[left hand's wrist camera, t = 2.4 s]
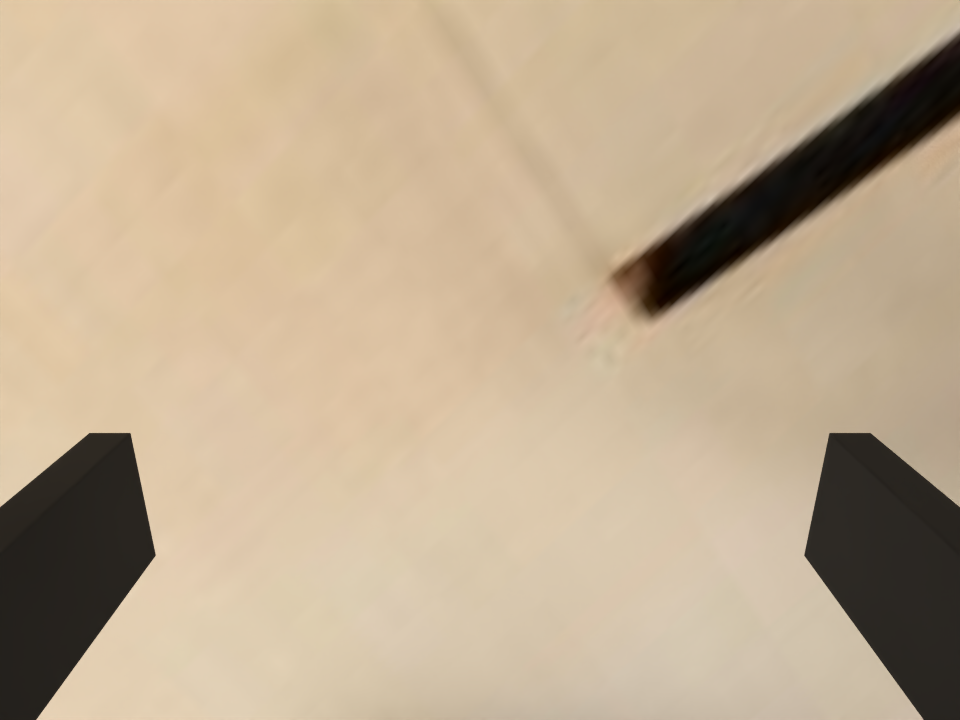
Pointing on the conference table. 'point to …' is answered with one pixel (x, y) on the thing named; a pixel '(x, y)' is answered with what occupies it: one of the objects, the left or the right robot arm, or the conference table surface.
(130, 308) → the conference table surface
